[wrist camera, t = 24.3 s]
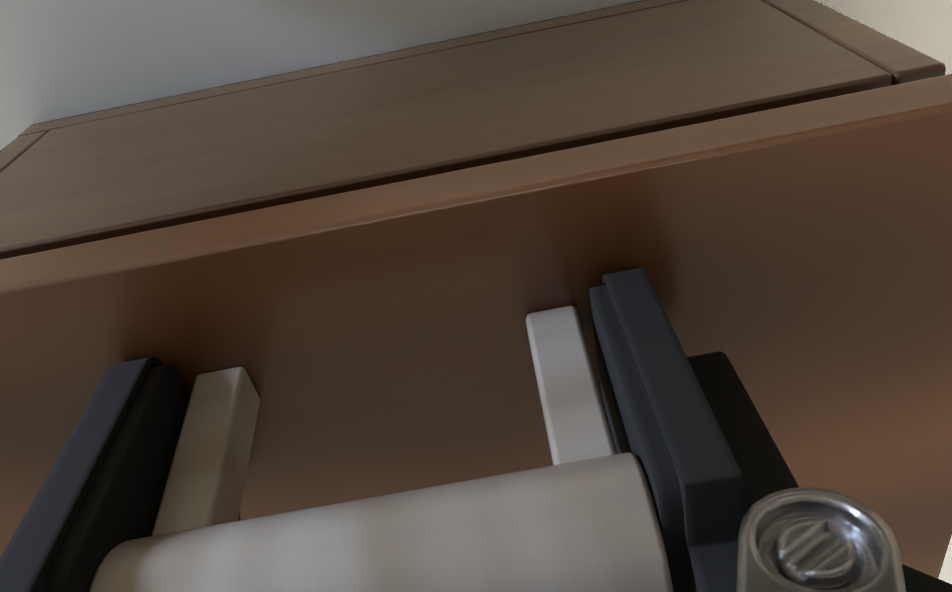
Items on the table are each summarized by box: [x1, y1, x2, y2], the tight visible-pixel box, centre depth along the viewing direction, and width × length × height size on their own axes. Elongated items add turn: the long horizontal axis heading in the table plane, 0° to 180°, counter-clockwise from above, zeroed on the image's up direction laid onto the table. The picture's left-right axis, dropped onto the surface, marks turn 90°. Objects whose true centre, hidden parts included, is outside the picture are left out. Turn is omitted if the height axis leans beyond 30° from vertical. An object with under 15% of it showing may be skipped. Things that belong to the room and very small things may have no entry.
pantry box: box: [0, 0, 946, 260], centre depth 20 cm, size 16×18×8 cm
